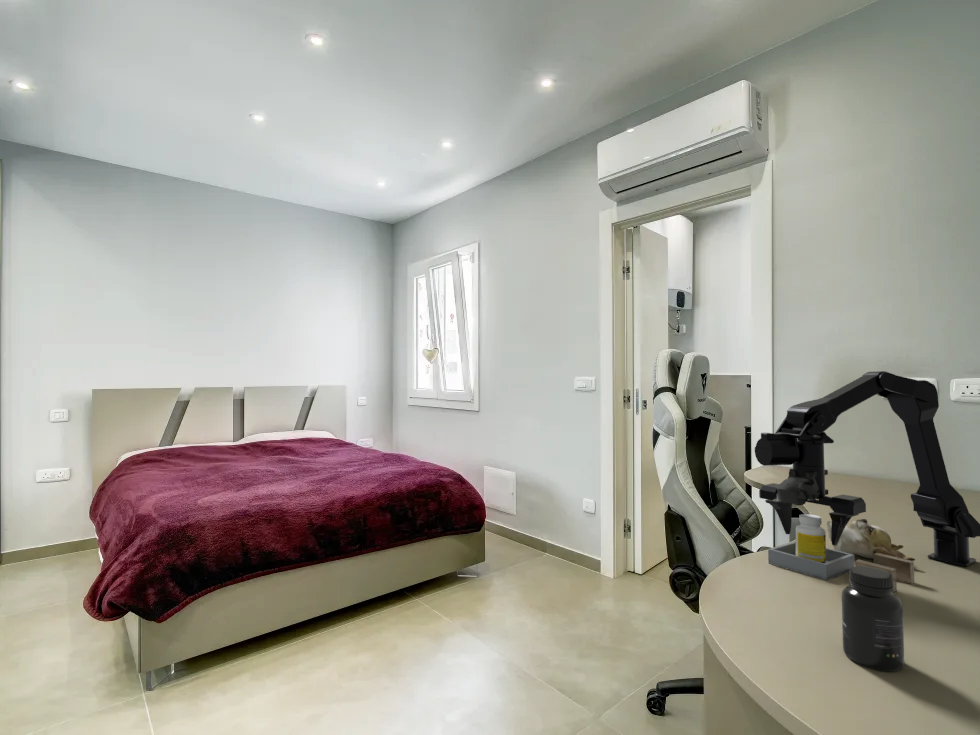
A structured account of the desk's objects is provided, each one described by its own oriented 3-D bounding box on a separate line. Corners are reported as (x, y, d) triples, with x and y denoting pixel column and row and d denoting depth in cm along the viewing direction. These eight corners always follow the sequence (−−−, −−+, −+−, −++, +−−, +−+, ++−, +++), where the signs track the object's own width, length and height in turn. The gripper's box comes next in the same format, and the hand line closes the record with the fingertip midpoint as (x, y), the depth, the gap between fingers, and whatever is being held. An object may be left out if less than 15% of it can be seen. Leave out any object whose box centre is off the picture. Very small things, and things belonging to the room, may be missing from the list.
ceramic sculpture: (824, 508, 121) (903, 519, 114) (822, 544, 121) (901, 558, 114) (830, 519, 111) (917, 532, 104) (828, 558, 111) (915, 574, 104)
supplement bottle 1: (831, 568, 103) (830, 520, 104) (801, 566, 105) (800, 518, 105) (819, 560, 109) (818, 513, 109) (791, 558, 110) (790, 512, 110)
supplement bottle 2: (831, 648, 73) (828, 563, 74) (875, 645, 74) (872, 562, 74) (870, 674, 67) (867, 581, 67) (918, 672, 67) (915, 580, 68)
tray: (797, 554, 114) (796, 540, 115) (854, 569, 105) (854, 554, 105) (768, 563, 109) (768, 549, 109) (826, 580, 99) (826, 564, 99)
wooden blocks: (877, 572, 103) (877, 552, 103) (914, 582, 98) (913, 561, 98) (855, 582, 98) (855, 561, 98) (892, 592, 93) (892, 570, 93)
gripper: (743, 462, 111) (745, 534, 111) (838, 474, 95) (840, 559, 95) (772, 458, 117) (774, 526, 116) (866, 469, 101) (868, 549, 100)
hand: (810, 539), depth 107 cm, fingers open, 9 cm apart
